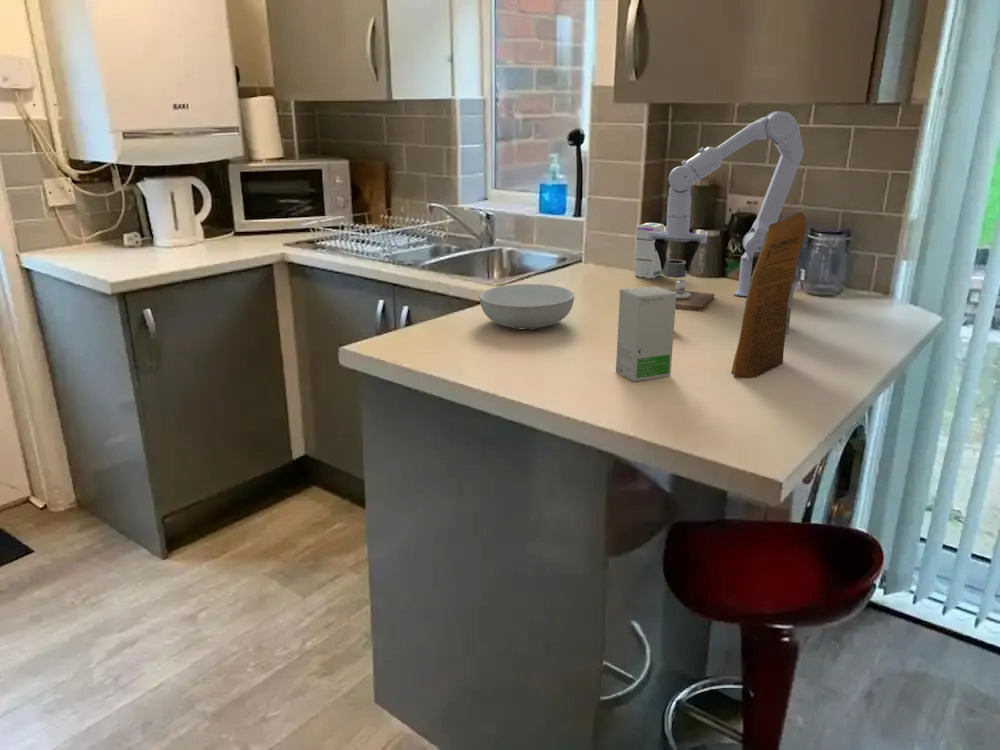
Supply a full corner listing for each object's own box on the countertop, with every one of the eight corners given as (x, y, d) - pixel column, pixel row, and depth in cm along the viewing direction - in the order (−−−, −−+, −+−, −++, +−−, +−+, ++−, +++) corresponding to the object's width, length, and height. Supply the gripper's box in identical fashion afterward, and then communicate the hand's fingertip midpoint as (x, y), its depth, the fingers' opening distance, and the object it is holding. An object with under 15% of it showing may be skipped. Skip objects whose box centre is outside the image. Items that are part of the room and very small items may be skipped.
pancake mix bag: (802, 361, 148) (821, 212, 139) (752, 386, 136) (770, 224, 126) (769, 353, 153) (785, 208, 144) (718, 377, 140) (732, 219, 131)
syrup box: (652, 279, 216) (656, 226, 211) (633, 276, 219) (636, 224, 214) (662, 275, 220) (665, 223, 215) (643, 273, 224) (646, 221, 219)
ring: (688, 274, 202) (689, 260, 201) (683, 278, 198) (684, 264, 196) (667, 272, 205) (668, 258, 203) (661, 276, 200) (662, 262, 199)
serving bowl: (514, 307, 188) (514, 279, 186) (590, 320, 177) (591, 290, 174) (460, 327, 172) (460, 297, 170) (541, 343, 161) (541, 310, 158)
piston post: (692, 296, 193) (693, 280, 192) (687, 300, 189) (688, 284, 187) (671, 293, 195) (672, 278, 194) (666, 298, 191) (667, 282, 190)
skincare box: (633, 383, 138) (637, 296, 132) (613, 371, 143) (617, 288, 138) (672, 376, 141) (678, 291, 136) (651, 365, 147) (656, 284, 141)
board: (714, 297, 195) (714, 293, 195) (701, 310, 184) (702, 306, 183) (659, 292, 201) (659, 288, 201) (643, 304, 189) (643, 300, 189)
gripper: (711, 215, 196) (707, 268, 201) (654, 212, 202) (651, 264, 207) (705, 219, 190) (701, 273, 195) (646, 216, 197) (644, 269, 201)
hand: (675, 269), depth 201 cm, fingers closed on ring, 6 cm apart
